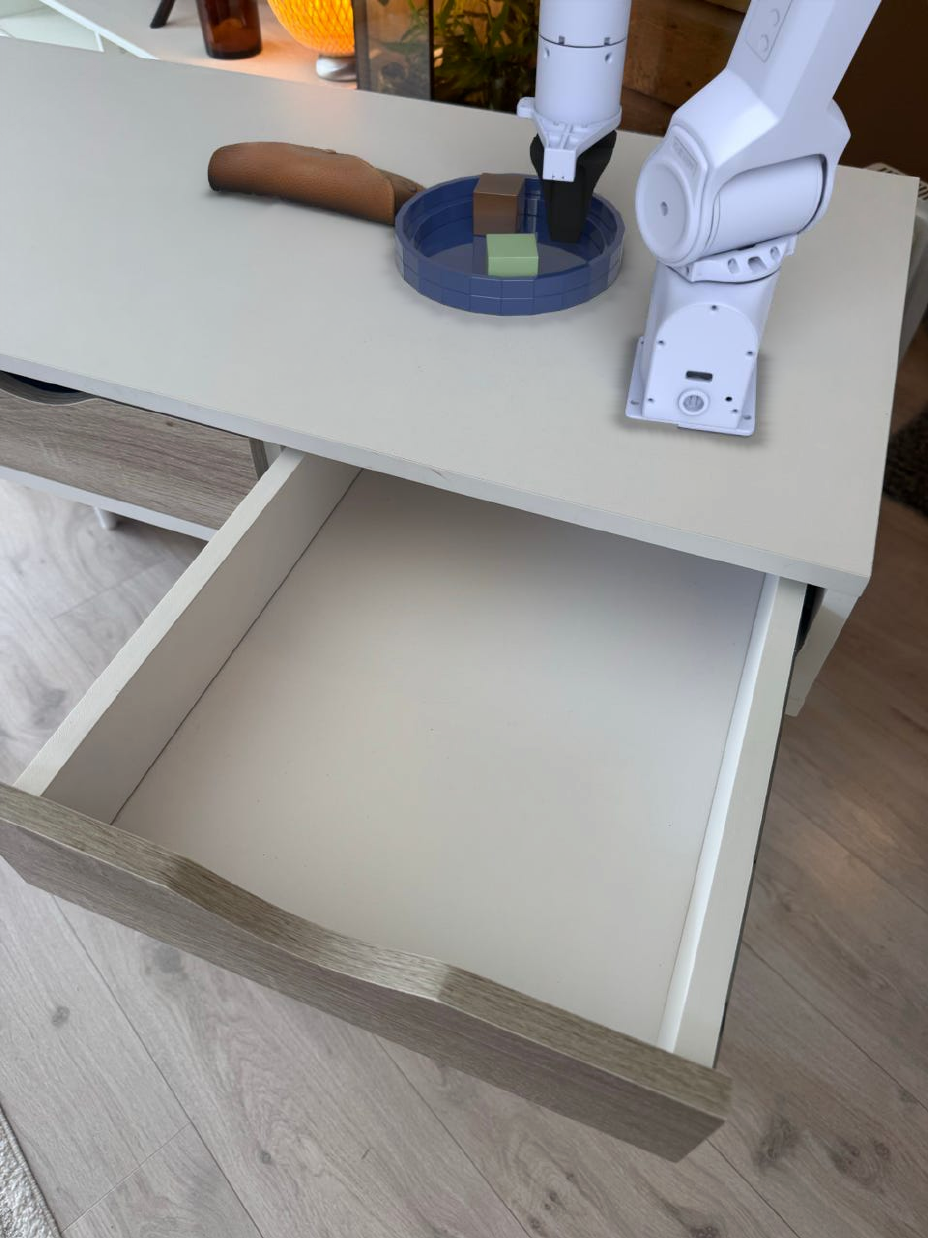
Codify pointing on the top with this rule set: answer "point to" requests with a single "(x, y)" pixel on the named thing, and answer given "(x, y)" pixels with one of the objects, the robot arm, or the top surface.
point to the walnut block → (498, 204)
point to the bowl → (456, 259)
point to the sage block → (511, 255)
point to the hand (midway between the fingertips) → (565, 238)
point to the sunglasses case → (311, 178)
